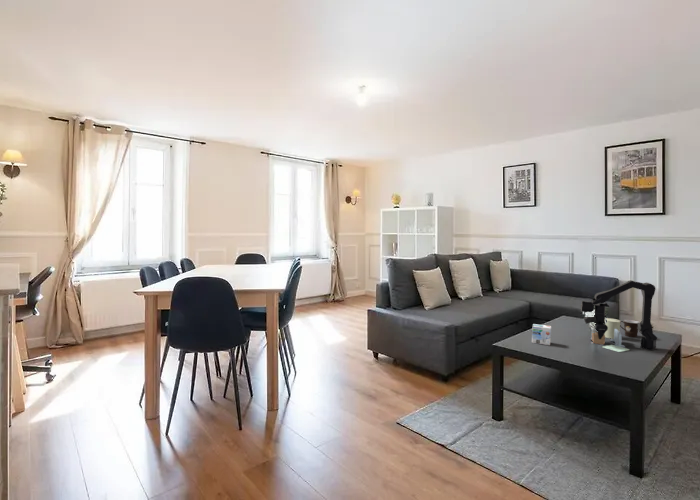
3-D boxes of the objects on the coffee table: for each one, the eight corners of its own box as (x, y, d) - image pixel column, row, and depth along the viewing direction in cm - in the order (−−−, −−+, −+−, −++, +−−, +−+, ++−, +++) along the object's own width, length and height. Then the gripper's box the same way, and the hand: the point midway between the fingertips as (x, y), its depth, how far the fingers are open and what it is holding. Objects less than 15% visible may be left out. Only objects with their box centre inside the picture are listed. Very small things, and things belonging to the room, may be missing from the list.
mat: (629, 350, 229) (629, 349, 228) (619, 352, 224) (619, 351, 224) (612, 345, 238) (612, 344, 238) (602, 347, 233) (602, 346, 233)
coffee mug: (642, 338, 253) (643, 323, 252) (628, 337, 253) (629, 323, 252) (629, 333, 265) (630, 318, 264) (617, 332, 265) (617, 318, 264)
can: (619, 339, 249) (620, 321, 248) (602, 337, 254) (603, 319, 253) (619, 336, 256) (620, 319, 255) (603, 334, 262) (604, 316, 261)
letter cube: (591, 340, 247) (592, 331, 246) (602, 342, 244) (603, 332, 244) (593, 343, 241) (593, 333, 241) (604, 344, 239) (605, 335, 238)
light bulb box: (531, 342, 241) (532, 326, 241) (532, 340, 247) (532, 323, 247) (550, 345, 236) (551, 328, 236) (550, 342, 242) (551, 325, 242)
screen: (610, 340, 247) (611, 328, 247) (619, 341, 245) (620, 329, 245) (615, 346, 235) (615, 333, 234) (624, 347, 233) (625, 335, 232)
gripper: (582, 308, 253) (581, 331, 254) (587, 314, 236) (585, 339, 237) (602, 310, 248) (601, 333, 250) (608, 316, 232) (607, 341, 233)
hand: (598, 337), depth 242 cm, fingers open, 9 cm apart
